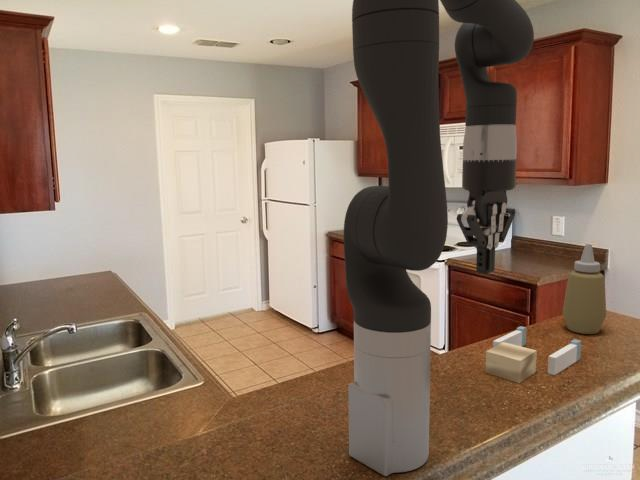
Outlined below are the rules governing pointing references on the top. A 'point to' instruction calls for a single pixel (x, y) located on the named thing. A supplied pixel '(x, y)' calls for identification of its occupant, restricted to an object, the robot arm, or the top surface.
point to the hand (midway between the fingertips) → (485, 272)
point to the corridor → (555, 360)
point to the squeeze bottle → (585, 295)
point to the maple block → (511, 362)
